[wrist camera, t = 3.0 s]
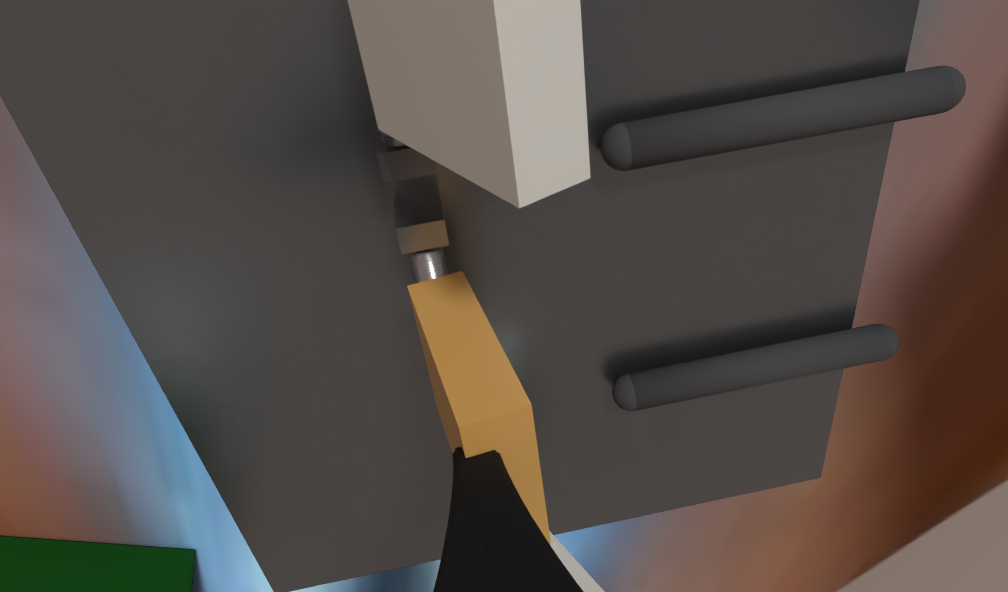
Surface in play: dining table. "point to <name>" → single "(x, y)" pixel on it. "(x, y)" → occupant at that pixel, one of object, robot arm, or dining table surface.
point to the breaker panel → (450, 255)
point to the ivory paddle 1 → (482, 88)
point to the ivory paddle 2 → (574, 567)
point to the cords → (757, 128)
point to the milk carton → (92, 567)
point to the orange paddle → (477, 385)
